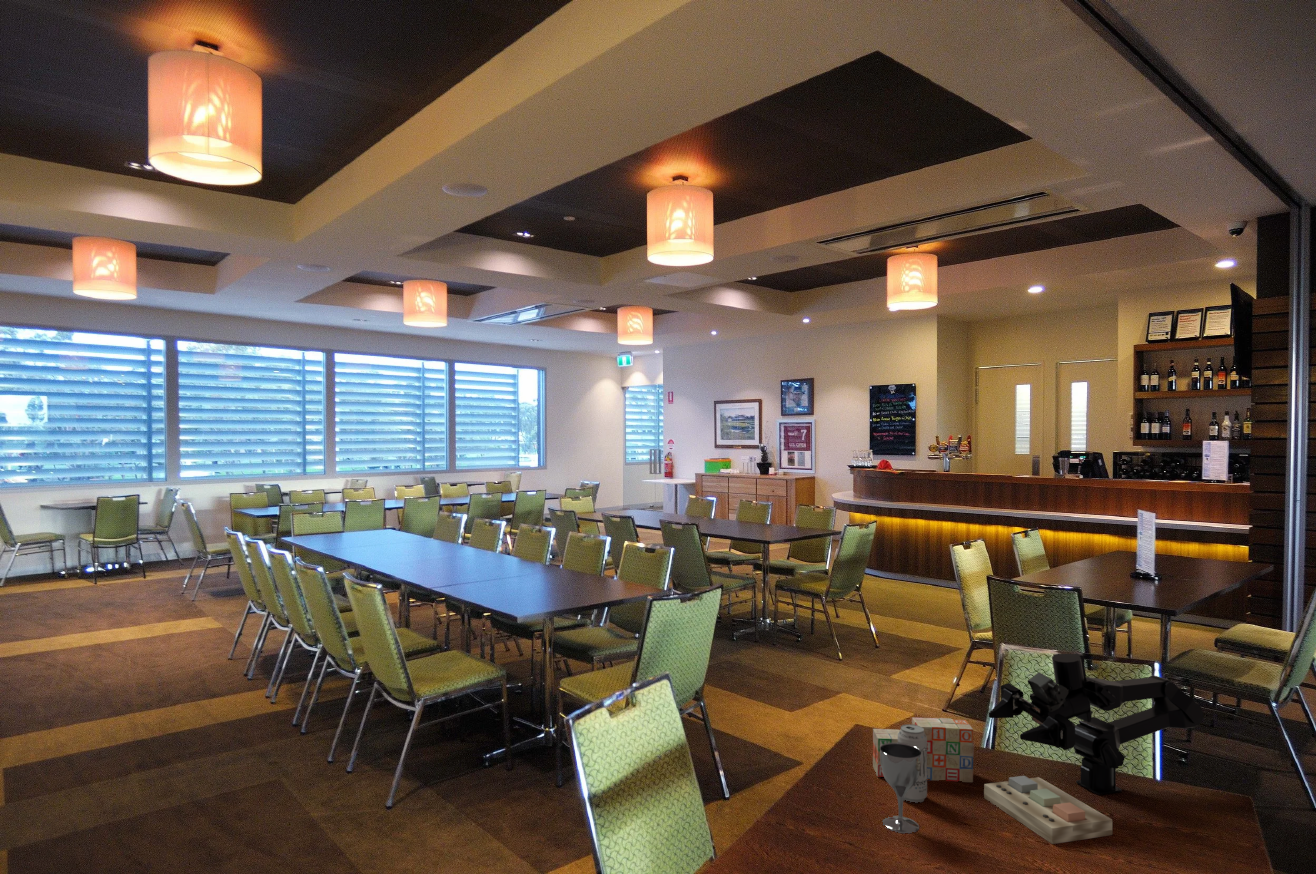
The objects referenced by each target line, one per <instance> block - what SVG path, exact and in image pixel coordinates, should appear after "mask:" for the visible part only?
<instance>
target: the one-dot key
mask: <svg viewBox="0 0 1316 874" xmlns="http://www.w3.org/2000/svg"><path fill="white" fill-rule="evenodd" d="M1030 799H1031V800H1033V801H1034V802H1036V803H1038V804H1039V805H1041V806H1042V807H1050V806H1053V805H1054V804H1060V796H1058V795H1056V794H1055V793H1053V792H1051V791H1050V790H1048V789H1039V790H1031V791H1030Z"/></svg>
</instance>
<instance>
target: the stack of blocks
mask: <svg viewBox="0 0 1316 874" xmlns="http://www.w3.org/2000/svg"><path fill="white" fill-rule="evenodd" d="M911 725H917V726H920V727H922V728H923V729H924V733H925V735H926V737H927V779H930V780H929V781H939V780H946V781H945V782H958V781H962V782H961V783H973V782H974V755H975V751H974V746H975V745H974V729H973V727H972V726H971V724H969V722H968V721H967V720H966V719H957V718H956V719H952V718H950V717H949V718H948V717H947V718H946V717H945V718H944V717H939V718H938V717H934V718H933V717H911ZM900 730H901V729H890V728H889V729H888V728H887V729H885V728H872V768H873V770H874V772H876V773H875V775H876V777H877V776H878V777H884V775H883V772H882V768H881V762H880V747H881V746H882V745H883V744H886V743H898V733H899V731H900ZM878 777H877V778H878Z"/></svg>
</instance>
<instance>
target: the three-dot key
mask: <svg viewBox="0 0 1316 874" xmlns="http://www.w3.org/2000/svg"><path fill="white" fill-rule="evenodd" d="M1008 781H1009V786H1010V787H1012V788H1014V789H1015V790H1017V791H1018V792H1020V793H1028V792H1030V791H1031V790H1038V783H1036V782H1034V781H1033V780H1031V779H1029V777H1028V776H1026V775H1019V776H1018V775H1017V776H1010V777H1008Z"/></svg>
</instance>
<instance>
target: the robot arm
mask: <svg viewBox="0 0 1316 874" xmlns="http://www.w3.org/2000/svg"><path fill="white" fill-rule="evenodd" d="M1051 659H1052V660H1051V662H1052V668H1053V674H1054V679H1055V680H1053V679H1052V678H1051V677H1048V676H1047V675H1044V674H1043V673H1041V672H1037V673H1036V674H1034V675H1033V676H1032V677H1031V678H1029V679H1028V680H1027V683H1028V685H1029V686H1030V688H1031V691H1032V693H1030V694H1029V700H1031V702H1030V701H1028V700H1027V699H1026V698H1024V691H1022V690H1021V689H1020V688H1018V687H1016V685H1015V686H1014V684H1012V683H1010V682H1008V683H1005V684H1001V685H1000V701H999V702H998V703H997V704H996V705H995V706H994V707H993V708H992V709H991V710H990V711H989V712H988V718H990V719H1013V718H1014V716H1016V717H1018V716H1020V715H1022V713H1023V712H1024V713H1025V714H1027V715H1029V716H1031V720H1032V721H1033V722H1035V723H1036V724H1038V725H1037V726H1035V727H1033V728H1029V729H1027V730H1026V731H1024V732H1022V733H1020V734H1019V738H1020V740H1022V741H1027V742H1032V743H1037V744H1043V745H1047V746H1050V747H1051V746H1052V747H1055V748H1056V749H1062V750H1063V751H1068V750H1070V749H1073V750H1074V753H1075V754H1076V755H1079V756H1080V757H1081V765H1080V779H1078V780H1076V781H1075V782H1076V784H1078V785H1079V786H1081V787H1082V788H1085V789H1086V790H1088V791H1090V792H1092V793H1094V794H1096V795H1098V796H1101V795H1108V794H1115V793H1121V792H1122V789H1121V788H1120V787H1118V786H1117V785H1116V782H1117V781H1116V778H1117V777H1116V772H1117V771H1116V770H1117V769H1118V768H1120V767H1122V766H1124V765H1123V764H1124V761H1125V755H1124V754H1123V753H1122V752H1121V751H1120V747H1121V745H1122V744H1125V743H1128V742H1131V741H1134V740H1137V739H1139V738H1142V737H1146V736H1148V735H1150V734H1153V733H1157V732H1159V731H1162V730H1165V729H1167V728H1172V729H1173V728H1174V729H1183V730H1184V729H1191V728H1192V729H1193V728H1196V727H1198V726H1200V724H1201V723H1202V722H1203V719H1204V716H1205V715H1204V712H1203V710H1202V706H1201V705H1200V703H1198V702H1196V701H1195V700H1194V699H1193V698H1192V697H1190V696H1189V695H1188V694H1186V693H1185V692H1184V691H1183V690H1181V689H1180V688H1179V687H1178V686H1177V685H1176V684H1175V682H1173V681H1172V680H1169V679H1168V678H1163V677H1161V676H1158V675H1150V676H1148V677H1140V678H1131V679H1123V680H1120V679H1119V680H1108V679H1103V678H1097V677H1096V678H1095V677H1089V676H1087V674H1086V667H1085V666H1086V665H1085V656H1084V655H1083V654H1080V653H1077V652H1076V653H1055V654H1053V655H1052V656H1051ZM1142 700H1152V702H1153V707H1150V708H1148V709H1144V710H1141V711H1139V712H1136V713H1133V714H1130V715H1126V716H1124V717H1121V718H1118V719H1115V720H1112V721H1109V722H1107V721H1105V720H1102V719H1100V718H1098V717H1096V716H1093V713H1094V711H1093V710H1092V707H1094V708H1097V709H1099V710H1102V711H1106V712H1109V711H1112V710H1114V709H1118V708H1120V707H1121V706H1122V705H1123V703H1126V702H1132V701H1134V702H1135V701H1142ZM1074 718H1077V719H1079V720H1078V723H1077V724H1075V722H1073V721H1072V720H1070V719H1074Z"/></svg>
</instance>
